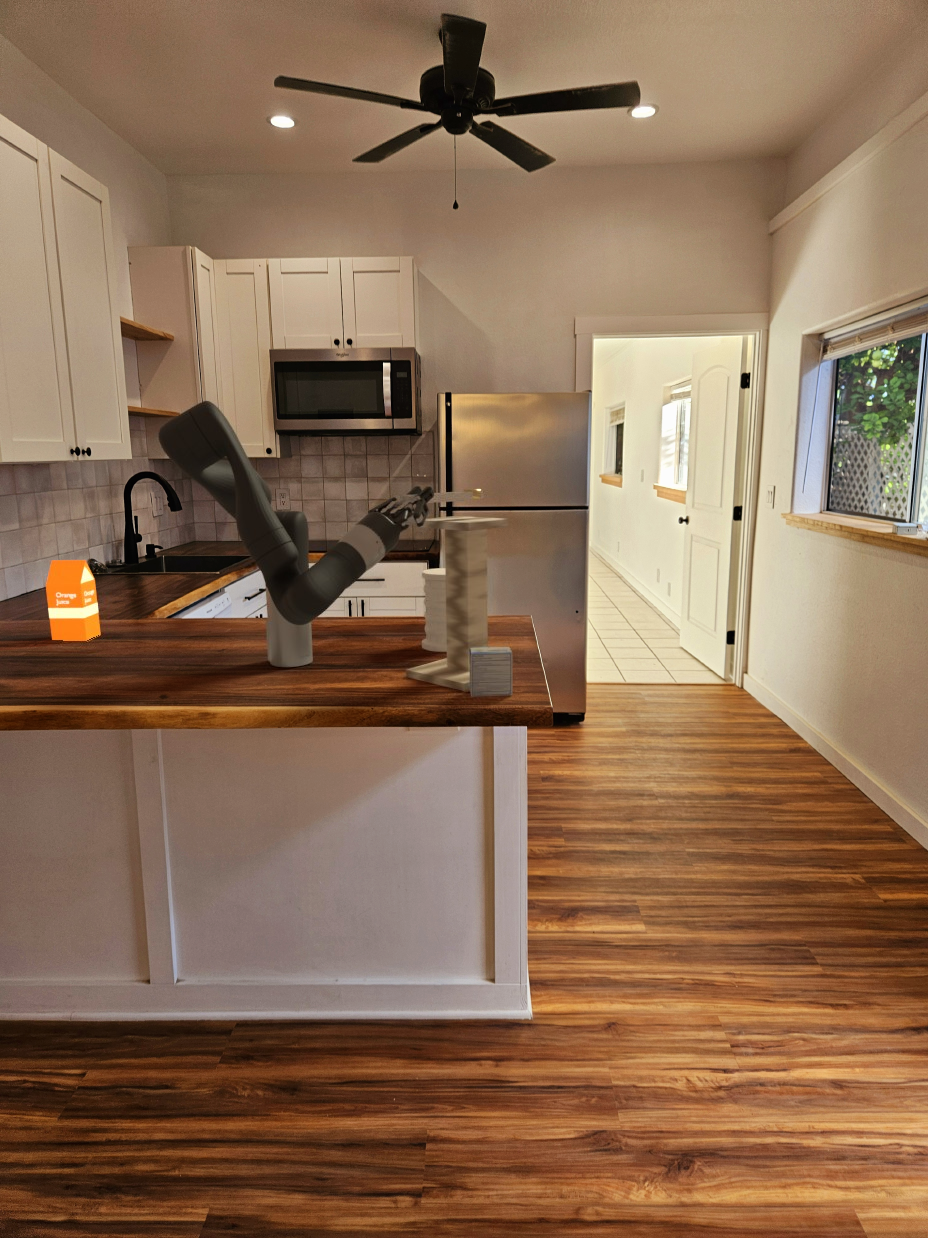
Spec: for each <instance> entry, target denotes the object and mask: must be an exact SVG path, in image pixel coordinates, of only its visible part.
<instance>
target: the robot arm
mask: <svg viewBox="0 0 928 1238" xmlns="http://www.w3.org/2000/svg"><path fill="white" fill-rule="evenodd" d="M158 440H159V441H158V442H159V443H160V446H161V449H162V450H163V451H164V453H165V455H166V456H167V457H168V459H170V461H171V462H172V463H173V464H174V465H175V466H176V467H177V468H178V469H179V470H181V471H182V473H184V474H186V475H187V476H188V477H189V478H191V480H193V481H194V482H196V483H197V484H198V485H199V486H201V487H202V488H203V489H204V490H206V492H207V493H209V495H210V496H211V497H212V498H213V499H214V500H215V501H216V502H217V503H218V505H219V506H220V507H221V508H223V510H225V511H226V512H227V514H228V515H230V516H231V517H232V518H233V519H234V520H235V522H236V524H235V525H236V530H237V533H238V536H239V538H240V540H241V542H242V544H243V546H244V547H245V549H246V550H247V552H248V554H249V555H250V557H251V558H252V560H253V561H254V563H255V565H256V566H257V567H258V569H259V570H260V573H261V574H262V577H263V579H264V583H265V597H266V598H265V600H266V610H267V611H266V614H267V619H265V628H266V629H265V631H266V646H267V661H268V662H270V665H272V667H273V666H274V667H279V668H293V667H296V668H297V667H300V666H301V667H302V666H305V665H308V664H311V663H313V661H314V660H313V659H314V658H313V656H314V655H313V639H312V621H314V620H315V619H316V618H318V617H319V616H321V615H322V614H323V613H324V612H326V611H327V610H328V609H329V608H330V607H331V606H332V605H333V604H334V603H335V602H336V601H337V599H338V598H339V597H340V596H341V595H342V594H343V593H344V591H345V590H346V589H348V588H350V587H351V586H352V585H353V584H355V583H356V581H358V580H359V579H360V578H361V577H362V576H363V575H364V574H365V573H366V572H367V571H369V570H371V569H372V568H373V567H375V566H376V565H377V564H378V563H379V562H380V561H381V560H383V558H385V556H386V555H387V554H388V553H390V552H391V551H392V550H393V549H395V547H396V546H397V545H398V543H399V540H400V536H401V533H402V532H403V531H406V530H407V529H408V528H409V527H410V525H411V526H412V525H416V524H417V526H418V527H417V528H420V527H421V526H423V525H424V522H425V520H426V519H427V517H428V515H429V512H430V509H429V507H428V503H427V502H428V501H430V500H431V499H432V498H433V497H434V493H435V492H434V491H433V488H432V487H431V486H429V485H428V486H425V488H423V489H421V488H422V487H421V486H419V485H416V486H414V487H413V488H412V489H410V490H409V491H408V492H407V493H406V494H405V495H413V494H418V495H417V496H416V497H415V498H413V499H412V500H411V501H410V502H404V503H403V504H400V496H399V497H398V498H397V497H396V496H393V497H391V498H389V499H387V500H386V501H383V502H382V503H381V504H380V503H379V505H377V506H375V507H373V508H370V510H368V511H367V514H366V515H365V516H364V517H362V518H361V519H360V520H359V521H357V523H356V524H355V525H354V526H352V527H351V528H350V529H349V530H348V531H347V532H346V533H345V534H343V536H341V538H340V540H339V541H338V542H337V543H335V544H334V545H333V546H331V548H329V549H328V550H327V551H326V552H325V553H324V554H323V555H322V556H321V557H320V558H319V560H317V562H316V563H314V564H313V565H312V566H310V565H309V564H310V561H309V560H310V559H309V542H310V539H309V538H310V535H309V533H310V532H309V523H308V519H307V517H306V515H305V513H303V512H302V511H298V510H274V509H273V507H272V492H271V489H270V487H269V486H268V483H267V482H266V481H265V480H264V478H263V477H262V476H261V475H260V473H258V472H257V470H256V469H254V467H253V465H252V463H251V461H250V459H249V457H248V455H247V453H246V451H245V448H243V445H242V444H241V441H240V440H239V437H238V436H237V433H236V432H235V430H234V429H233V427H232V425H231V423H230V421H229V420H228V418H227V417H226V416H225V414H224V413H223V412H222V410H220V408H219V407H218V406H217V405H215V404H214V403H213V402H212V401H209V400H203V401H202V402H199V403H197V404H195V405H194V406H192V407H190V408H189V409H187V410H185V411H183V412H182V413H180V414H178V415H176V416H175V417H173V418H172V419H170V420H169V421H167V422H166V423H165V424H163V425H162V426H161V427H160V429H159V431H158ZM224 458H226V459H227V460H224ZM414 505H415V507H414Z"/></svg>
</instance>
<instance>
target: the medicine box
mask: <svg viewBox="0 0 928 1238" xmlns="http://www.w3.org/2000/svg"><path fill="white" fill-rule="evenodd" d="M469 668H470V689H469V690H470V691H469V692H470V697H471V698H474V697H475V698H477V697H502V696H504V697H505V696H513V651H512V650H511V648H510V647H509V646H488V647H480V648H470V649H469Z"/></svg>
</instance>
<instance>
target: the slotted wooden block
mask: <svg viewBox="0 0 928 1238" xmlns="http://www.w3.org/2000/svg"><path fill="white" fill-rule="evenodd" d="M433 493H434V497H433V498H432V499H431V500H430V501H428V502H427V503H426V504H431V503H433V504H434V503H449V502H461V501H462V502H463V501H477V500H484V499H485V498H484V496H485V495H484V491H483V490H482V488H464V489H463V491H462V490H461V491H450V492H449V491H448V492H447V491H446V492H445V491H444V492H433ZM417 495H418V494H413V495H406V494H399V497H400V504H403V503H404V502H410V501H411V500H412V499H413V498H415V497H416V496H417Z"/></svg>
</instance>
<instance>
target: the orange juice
mask: <svg viewBox="0 0 928 1238" xmlns="http://www.w3.org/2000/svg"><path fill="white" fill-rule="evenodd" d="M46 579H47V580H46V584H45V589H46V590H45V591H46V599H47V606H48V608H47V610H48V618H49V623H50V633H51V634H50V635H51V639H52V640H63V641H87V640H89V639H91V638H93V637H95V638H97V637H99V636H101V626H100V616H99V606H98V605H99V603H98V599H97V589H96V588H97V587H96V580H95V577H94V575H93V573H92V570H91V569H90V567H89V565H88V562H87V560H86V559H60V560H59V559H57V560H56V559H55V560H54V559H52V560H51V563H50V567H49V570H48V575H47V578H46ZM98 635H99V636H98ZM96 636H97V637H96ZM93 639H94V638H93ZM52 640H51V641H52ZM91 640H92V639H91ZM89 641H90V640H89ZM87 642H88V641H87Z"/></svg>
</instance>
